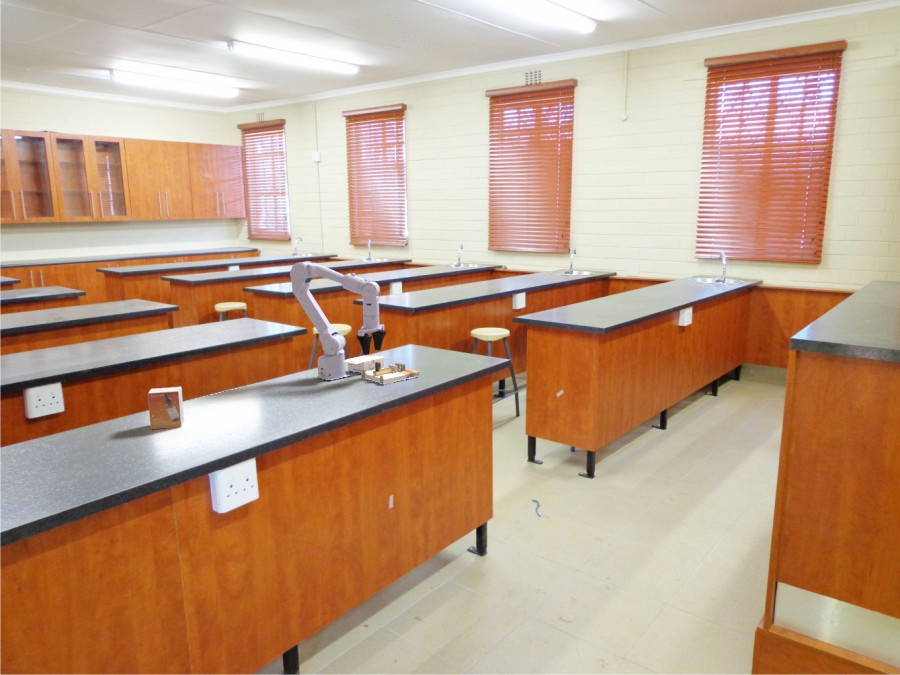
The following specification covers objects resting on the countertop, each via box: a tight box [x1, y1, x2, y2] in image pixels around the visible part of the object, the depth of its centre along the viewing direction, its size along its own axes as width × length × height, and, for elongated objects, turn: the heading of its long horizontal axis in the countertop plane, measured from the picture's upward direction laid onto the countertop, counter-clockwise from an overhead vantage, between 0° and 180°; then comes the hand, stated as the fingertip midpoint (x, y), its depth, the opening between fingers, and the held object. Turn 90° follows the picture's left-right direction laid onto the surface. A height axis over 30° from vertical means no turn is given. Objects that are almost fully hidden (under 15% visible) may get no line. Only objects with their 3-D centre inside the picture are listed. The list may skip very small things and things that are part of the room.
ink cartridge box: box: [345, 354, 385, 373], centre depth 231 cm, size 9×5×15 cm
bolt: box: [373, 362, 394, 375], centre depth 218 cm, size 8×2×4 cm, turn 133°
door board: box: [360, 363, 407, 384], centre depth 218 cm, size 11×14×4 cm
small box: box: [147, 386, 185, 430], centre depth 168 cm, size 8×6×10 cm
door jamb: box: [385, 362, 420, 378], centre depth 224 cm, size 5×14×4 cm, turn 43°
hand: (372, 352), depth 219 cm, fingers open, 7 cm apart
